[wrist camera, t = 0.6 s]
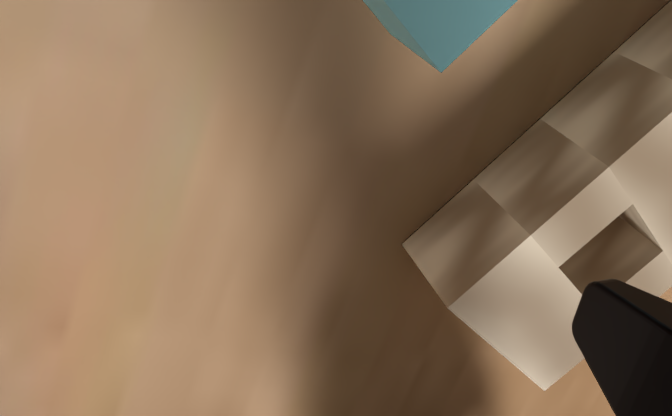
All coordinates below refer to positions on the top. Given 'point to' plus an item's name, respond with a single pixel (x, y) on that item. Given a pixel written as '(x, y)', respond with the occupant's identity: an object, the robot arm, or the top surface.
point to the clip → (438, 24)
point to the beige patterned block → (564, 211)
